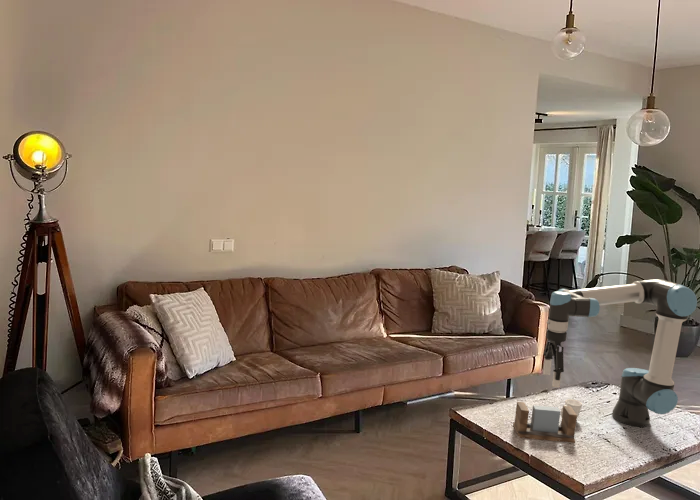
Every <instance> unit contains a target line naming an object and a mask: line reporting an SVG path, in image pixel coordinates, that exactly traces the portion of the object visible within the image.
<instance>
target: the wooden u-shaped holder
mask: <svg viewBox="0 0 700 500" xmlns="http://www.w3.org/2000/svg"><path fill="white" fill-rule="evenodd" d="M515 407H516V409H515V415H514V416H515V417H514V422H513V423H512V425H513V427H514V430H515V432H516V434H517V436H518V438H519V439H529V440H537V441H538V440H539V441H549V442H550V441H551V442H561V443H572V444H575V443H576V439H575V435H576V427H577V421H578V420H577V419H578V418H577V414H576V413H575V412H574V410H573V409H572V407H571V406H564V405H563V406H562V407H563V413H562V417H561V422H560V425H559V427H558V433H553V432H542V431H532V430H531V428H530V426H531V422H528V421H529V414H530V413H529V412H530V411H529V409H528V406H527V405H526V403H525V402H524V401H516V405H515ZM576 420H577V421H576Z"/></svg>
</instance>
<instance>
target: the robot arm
mask: <svg viewBox="0 0 700 500" xmlns="http://www.w3.org/2000/svg"><path fill="white" fill-rule="evenodd" d="M550 295H551V296H550V300H549V309H548V319H547V321H546V324H547V329H546V333H545V334H546V335H545V337H546V345H545V348H544V350H543V354H542V355H543V357H544V365H543V370H542V372H543V373H542V375H543V376H551V371H552V372H553V375H552V384H551V387H552V388H560V386H561V379H562V373H564V371H565V369H564V366H565V364H564V346H562V343H563V342H566V340H567V336H568V335H567V331H568V326H569V317H580V318H581V317H583V318H592V317H593V318H595V317H597V316H598V314H599V313H600V310H601V307H600V306H605V305H614V304H625V303H633V302H634V303H635V304H649V305H652V306H655V315H656V316H657V317H658V321H657V325H656V326H657V327H656V330H655V336H654V340H653V341H654V342H653V346H652V352H651V358H650V361H649V366H648V367H649V368H648V369H643V368H638V367H637V368H636V367H627V368H624V369H623V371H622V373H621V376H620V377H621V381H620V388H619V394H618V400H617V402H616V404H615V405H614V407H613V409H612V412H611V414H612V415H611V416H612V417H613V419H615V420H617V422H620V423H622V424H625V425H628V426H632V427H648V426H649V425H650V421H651V415H650V412H653V413H654V414H658V415H666V414H669V413H670V412H671V411H673V410H674V409H675V408H676V407H677V405H678V402H679V398H678V397H679V396H678V395H677V393H676V391H674V389H675V382H674V380H673V378H672V376H673V372H674V366H675V361H676V356H677V351H678V346H679V341H680V336H681V330H682V324H683V322H686V321H687V320H688V317H689V316H691V315H693V313H694V312H695V311H696V310H697V308H698V307H697V306H698V299H697V295H696V293H695V292H694V291H693V290H692V289H691V288H689V287H687V286H685V285H683V284H680V283H676V282H673V281H669V280H666V279H661V278H659V279H658V278H656V279H644V280H635V281H633V282H632V283H628V284H620V285H619V284H617V285H611V286H601V287H591V288H581V289H572V290H569V289H568V288H559V289H558V290H556V291H553V292H552V293H551V294H550ZM552 361H553V364H554V366H553V367H554V369H553V370H551V369H552ZM649 411H650V412H649Z"/></svg>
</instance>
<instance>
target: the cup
mask: <svg viewBox="0 0 700 500" xmlns="http://www.w3.org/2000/svg"><path fill="white" fill-rule="evenodd" d="M564 403H565V405H563V406H571V407H572V409H573V410H574V412H575V413H576V414H577V419H578V418H579V415H580V413H581V409H582V406H583V403H582V402H581V401H579V400H576V399H571V398H568V399H565V400H564ZM563 406H562V407H561V409H560V417H561V418H562V413H563ZM577 421H578V420H576V422H577Z"/></svg>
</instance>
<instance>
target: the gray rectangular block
mask: <svg viewBox="0 0 700 500" xmlns="http://www.w3.org/2000/svg"><path fill="white" fill-rule="evenodd" d="M560 417H561V409H559V407H556V406H547V405H546V406H545V405H535V404H533V405H532V410H531V419H530V423H531V426H530V428H531V430H532V431H542V432H553V433H558V427H559V426H560V420H561V419H560Z"/></svg>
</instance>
